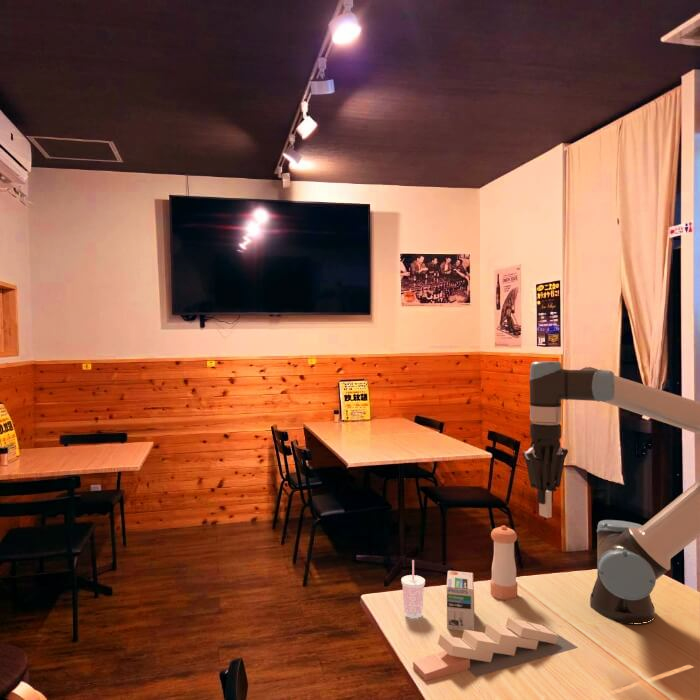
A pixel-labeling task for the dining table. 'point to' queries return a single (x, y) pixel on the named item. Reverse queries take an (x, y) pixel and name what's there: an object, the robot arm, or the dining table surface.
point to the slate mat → (519, 656)
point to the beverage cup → (413, 594)
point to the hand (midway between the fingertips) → (545, 516)
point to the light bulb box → (460, 601)
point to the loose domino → (486, 643)
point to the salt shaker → (503, 564)
